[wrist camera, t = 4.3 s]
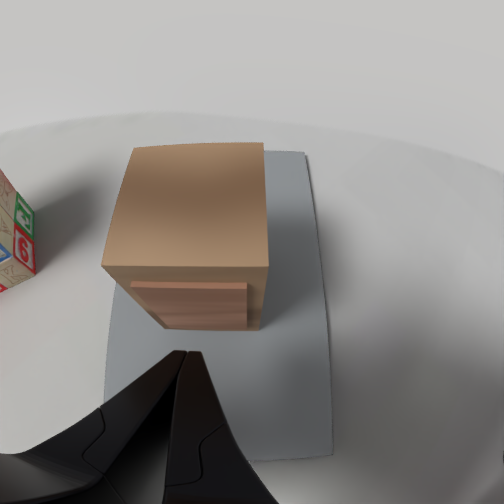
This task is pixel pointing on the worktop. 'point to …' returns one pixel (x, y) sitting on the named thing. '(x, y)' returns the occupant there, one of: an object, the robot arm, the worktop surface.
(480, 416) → the worktop surface
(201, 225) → the walnut block
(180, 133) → the worktop surface
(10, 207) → the stack of blocks
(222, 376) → the slate mat
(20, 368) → the worktop surface
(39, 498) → the robot arm
